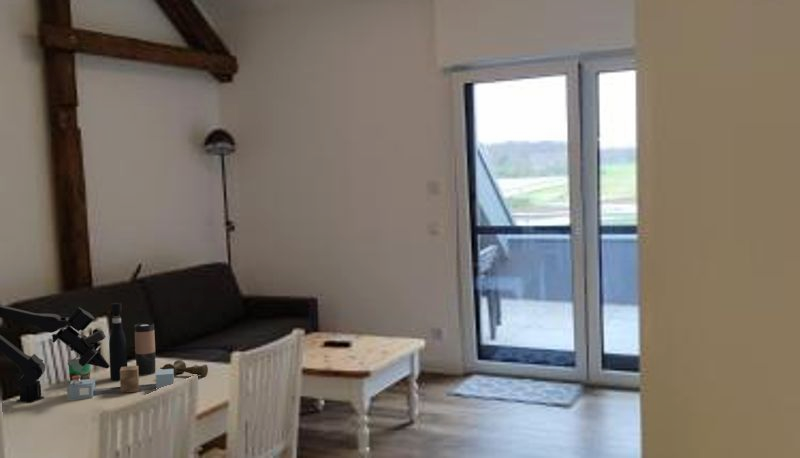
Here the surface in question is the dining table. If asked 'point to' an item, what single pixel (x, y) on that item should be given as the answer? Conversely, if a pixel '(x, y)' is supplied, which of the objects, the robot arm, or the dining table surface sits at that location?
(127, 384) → the block
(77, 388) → the cabinet
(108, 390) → the rail
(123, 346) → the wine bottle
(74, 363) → the food container
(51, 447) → the dining table surface
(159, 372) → the end block
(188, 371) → the kendama
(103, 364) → the robot arm
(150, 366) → the travel mug
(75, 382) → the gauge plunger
